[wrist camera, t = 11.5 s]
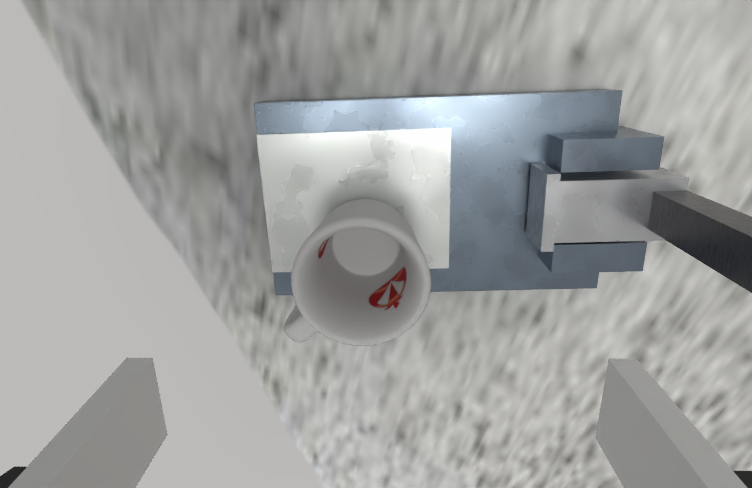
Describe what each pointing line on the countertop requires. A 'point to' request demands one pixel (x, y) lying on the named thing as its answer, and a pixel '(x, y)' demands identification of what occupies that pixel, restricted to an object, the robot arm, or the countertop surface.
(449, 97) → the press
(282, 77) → the countertop surface
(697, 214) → the lever
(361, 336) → the cup
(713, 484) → the robot arm
